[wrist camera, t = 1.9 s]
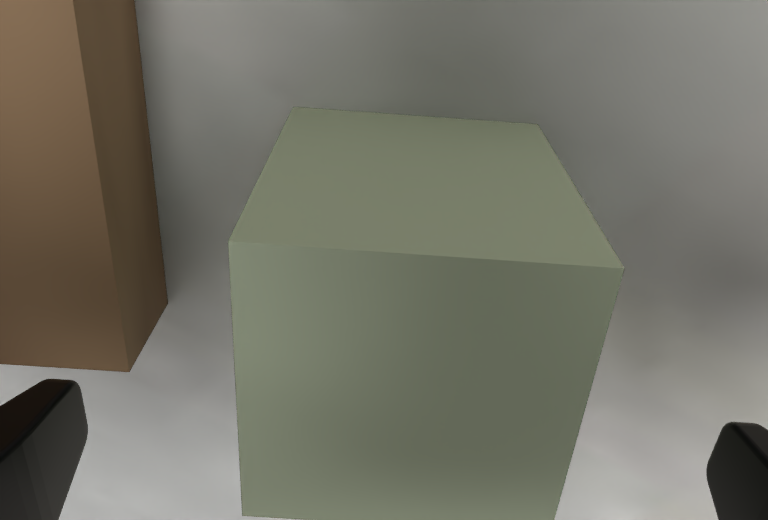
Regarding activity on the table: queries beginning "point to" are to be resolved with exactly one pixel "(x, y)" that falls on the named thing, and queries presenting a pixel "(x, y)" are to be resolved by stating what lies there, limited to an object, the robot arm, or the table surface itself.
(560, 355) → the sage cube
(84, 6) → the walnut block
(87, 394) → the table surface
